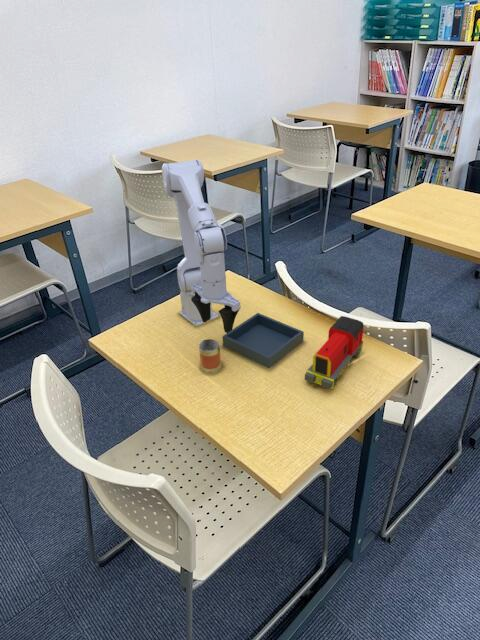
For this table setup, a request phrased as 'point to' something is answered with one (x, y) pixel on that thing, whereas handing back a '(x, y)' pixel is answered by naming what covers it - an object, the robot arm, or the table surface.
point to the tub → (263, 339)
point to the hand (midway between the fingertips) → (217, 325)
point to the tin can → (210, 355)
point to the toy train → (336, 352)
